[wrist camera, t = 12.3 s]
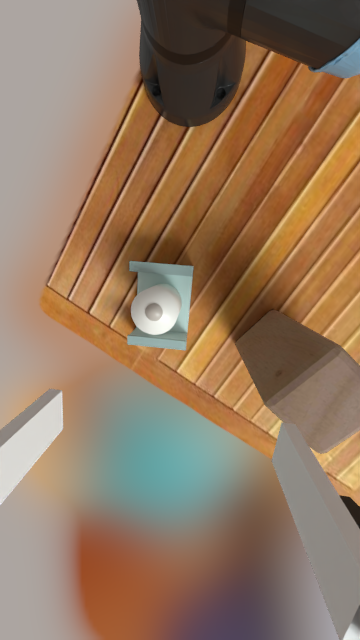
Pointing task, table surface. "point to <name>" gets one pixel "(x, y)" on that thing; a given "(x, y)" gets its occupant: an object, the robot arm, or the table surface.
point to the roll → (156, 309)
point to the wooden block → (304, 379)
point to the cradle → (183, 283)
